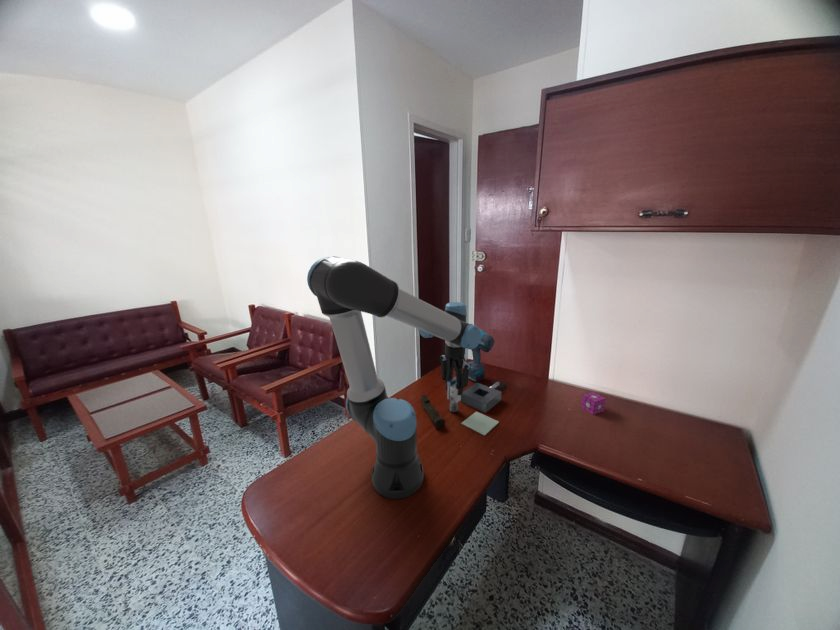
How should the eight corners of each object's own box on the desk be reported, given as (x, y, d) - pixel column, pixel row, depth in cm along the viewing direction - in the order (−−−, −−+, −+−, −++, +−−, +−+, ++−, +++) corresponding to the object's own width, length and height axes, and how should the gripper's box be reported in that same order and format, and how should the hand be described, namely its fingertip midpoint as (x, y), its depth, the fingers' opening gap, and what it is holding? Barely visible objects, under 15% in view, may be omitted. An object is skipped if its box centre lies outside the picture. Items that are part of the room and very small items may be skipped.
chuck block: (485, 412, 121) (486, 404, 120) (460, 401, 129) (460, 393, 128) (510, 392, 135) (510, 384, 134) (486, 383, 143) (486, 375, 142)
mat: (484, 435, 108) (484, 434, 108) (461, 424, 115) (461, 423, 115) (499, 422, 115) (499, 421, 115) (476, 412, 122) (476, 411, 122)
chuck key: (451, 415, 119) (452, 383, 115) (445, 411, 121) (445, 380, 117) (462, 407, 124) (463, 376, 120) (455, 404, 126) (456, 374, 122)
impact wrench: (459, 366, 160) (460, 320, 153) (495, 382, 144) (498, 332, 136) (449, 371, 156) (449, 324, 148) (484, 388, 139) (486, 336, 132)
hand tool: (445, 428, 113) (445, 417, 112) (435, 430, 112) (435, 419, 111) (428, 401, 131) (428, 391, 129) (419, 403, 129) (419, 393, 128)
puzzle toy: (591, 404, 126) (592, 391, 124) (603, 411, 121) (605, 398, 119) (580, 407, 124) (582, 394, 122) (593, 415, 119) (595, 402, 117)
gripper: (479, 346, 112) (476, 403, 118) (444, 336, 123) (443, 388, 129) (467, 352, 107) (465, 411, 113) (432, 341, 117) (432, 395, 124)
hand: (453, 399), depth 121 cm, fingers closed on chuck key, 3 cm apart
